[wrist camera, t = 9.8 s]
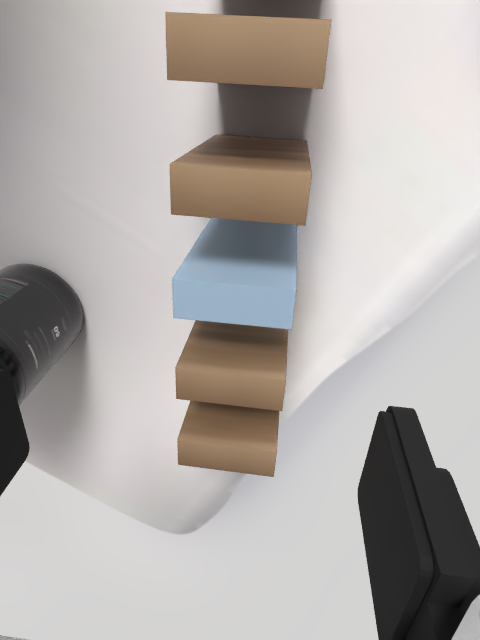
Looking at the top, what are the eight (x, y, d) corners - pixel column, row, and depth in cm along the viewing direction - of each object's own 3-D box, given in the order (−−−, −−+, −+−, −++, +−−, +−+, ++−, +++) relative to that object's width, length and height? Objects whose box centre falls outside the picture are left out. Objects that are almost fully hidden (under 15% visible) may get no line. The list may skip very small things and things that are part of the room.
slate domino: (214, 213, 26) (172, 278, 17) (296, 220, 26) (296, 290, 17) (213, 242, 27) (173, 317, 18) (293, 248, 27) (291, 329, 18)
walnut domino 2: (216, 134, 24) (169, 163, 15) (306, 140, 24) (311, 174, 15) (215, 168, 25) (171, 214, 16) (302, 174, 24) (305, 225, 16)
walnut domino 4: (211, 337, 30) (177, 439, 22) (282, 344, 30) (276, 451, 21) (211, 358, 31) (178, 464, 22) (280, 365, 31) (273, 477, 22)
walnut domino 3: (213, 280, 28) (175, 367, 20) (289, 287, 28) (285, 379, 19) (212, 304, 29) (176, 398, 20) (286, 311, 29) (281, 411, 20)
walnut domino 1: (218, 40, 22) (165, 12, 13) (317, 45, 21) (331, 19, 13) (217, 81, 23) (167, 79, 14) (312, 86, 22) (322, 89, 14)
